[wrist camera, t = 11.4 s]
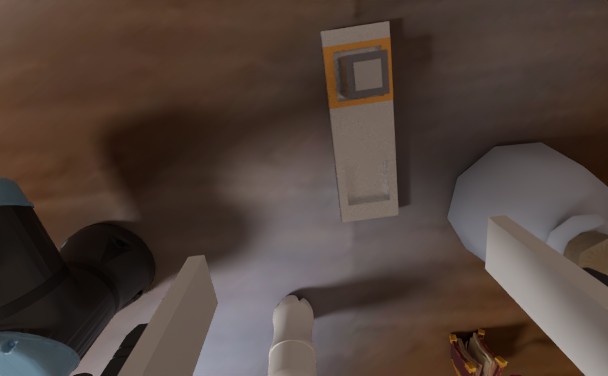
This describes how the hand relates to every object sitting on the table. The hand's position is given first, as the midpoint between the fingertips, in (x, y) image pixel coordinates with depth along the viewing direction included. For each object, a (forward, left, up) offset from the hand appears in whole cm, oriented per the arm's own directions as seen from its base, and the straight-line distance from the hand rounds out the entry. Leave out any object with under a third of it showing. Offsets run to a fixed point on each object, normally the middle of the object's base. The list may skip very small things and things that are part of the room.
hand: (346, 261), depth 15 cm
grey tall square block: (+7, +7, -36) cm, 37 cm away
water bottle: (-8, -32, -37) cm, 49 cm away
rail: (+7, -1, -37) cm, 37 cm away
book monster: (+26, -47, -37) cm, 65 cm away
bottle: (+30, -16, -37) cm, 50 cm away
